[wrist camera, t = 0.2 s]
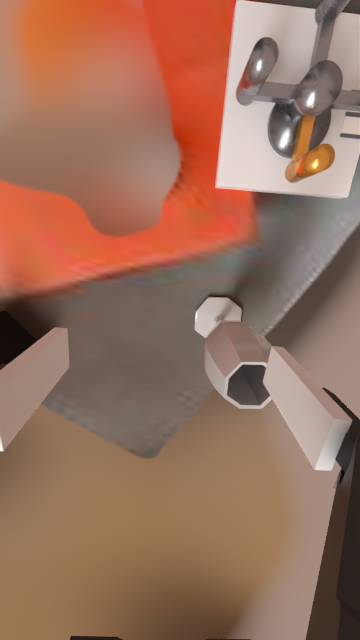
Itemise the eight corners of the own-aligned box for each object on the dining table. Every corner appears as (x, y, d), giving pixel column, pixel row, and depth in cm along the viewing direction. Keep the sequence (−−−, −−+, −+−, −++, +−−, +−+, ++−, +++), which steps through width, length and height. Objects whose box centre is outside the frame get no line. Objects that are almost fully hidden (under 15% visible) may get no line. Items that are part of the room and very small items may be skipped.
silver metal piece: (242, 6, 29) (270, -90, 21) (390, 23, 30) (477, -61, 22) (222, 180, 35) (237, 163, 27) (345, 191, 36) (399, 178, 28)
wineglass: (186, 331, 45) (195, 408, 25) (204, 288, 43) (229, 335, 23) (229, 346, 46) (270, 429, 27) (249, 304, 44) (311, 362, 24)
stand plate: (234, 10, 31) (237, -3, 29) (386, 28, 32) (397, 17, 30) (214, 187, 37) (216, 185, 36) (341, 198, 38) (348, 197, 37)
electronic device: (32, 362, 47) (-4, 394, 37) (-11, 323, 44) (-62, 347, 34) (47, 350, 46) (14, 380, 36) (5, 309, 43) (-43, 330, 34)
